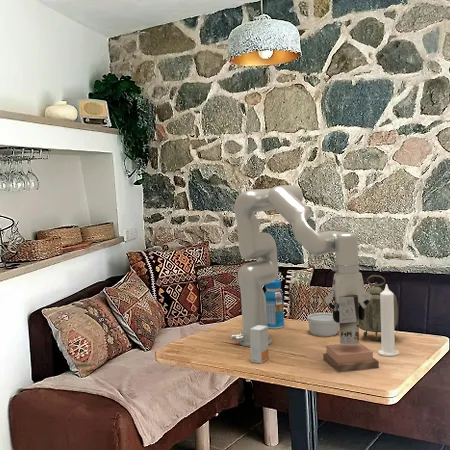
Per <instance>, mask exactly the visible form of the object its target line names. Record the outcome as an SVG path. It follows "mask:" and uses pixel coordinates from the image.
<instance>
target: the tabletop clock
mask: <svg viewBox="0 0 450 450" xmlns="http://www.w3.org/2000/svg"><path fill="white" fill-rule="evenodd" d="M370 278H381V279H382V280H383V283H379V284H378V282H374V283H371V282H370V281H369V279H370ZM366 281H367V284H368V285H370V286H372V287H371V288H370V289H369V291H367V292H368V293H370V294H371V295H372V297H371V299H370V300H369V303H368V304H367V305H366V308H364V311H365V317H364V320H361V319H359V330H362V331H364V332H363V333H362V335H363V336H364V337H367V336H368V332H371V333H375V336H374V337H373V340H374V341H376V342H377V341H379V337H378V334H379V333H381V305H380V293H381V292H383V291H384V290H383V288H382V286H384V285H386V284H385V283H386V278H385V277H383V276H382V275H379V274H373V275H372V274H371V275H370V276H368V277H367V278H366ZM393 296H394V329H395V328H396V326H397V324H398V321H399V303H398V300H397V299H398V298H397V296H396V294H394V293H393ZM365 298H366V295H365ZM358 307H359V305H358ZM395 337H396V335H395V334H394V338H395Z"/></svg>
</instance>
